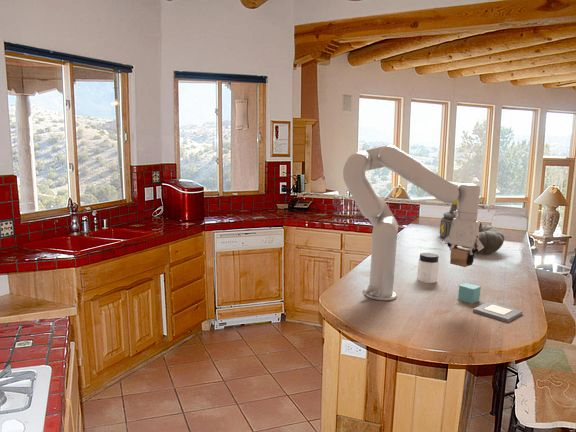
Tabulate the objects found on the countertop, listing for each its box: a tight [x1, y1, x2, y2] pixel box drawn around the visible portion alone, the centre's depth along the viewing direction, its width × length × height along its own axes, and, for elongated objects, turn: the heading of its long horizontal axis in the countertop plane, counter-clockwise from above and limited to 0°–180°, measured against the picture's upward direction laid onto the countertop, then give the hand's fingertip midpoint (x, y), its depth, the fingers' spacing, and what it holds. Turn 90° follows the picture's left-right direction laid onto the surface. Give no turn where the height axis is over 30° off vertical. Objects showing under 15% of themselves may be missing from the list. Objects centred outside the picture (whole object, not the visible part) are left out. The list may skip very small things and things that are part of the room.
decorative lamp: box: [439, 200, 457, 239], centre depth 315 cm, size 19×19×30 cm
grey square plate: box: [472, 301, 524, 323], centre depth 180 cm, size 13×13×1 cm
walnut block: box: [449, 246, 473, 268], centre depth 185 cm, size 6×6×6 cm
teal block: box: [457, 282, 482, 304], centre depth 193 cm, size 6×6×6 cm
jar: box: [416, 252, 440, 284], centre depth 218 cm, size 9×8×12 cm
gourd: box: [461, 222, 505, 256], centre depth 278 cm, size 25×25×17 cm
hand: (461, 261), depth 185 cm, fingers closed on walnut block, 6 cm apart
